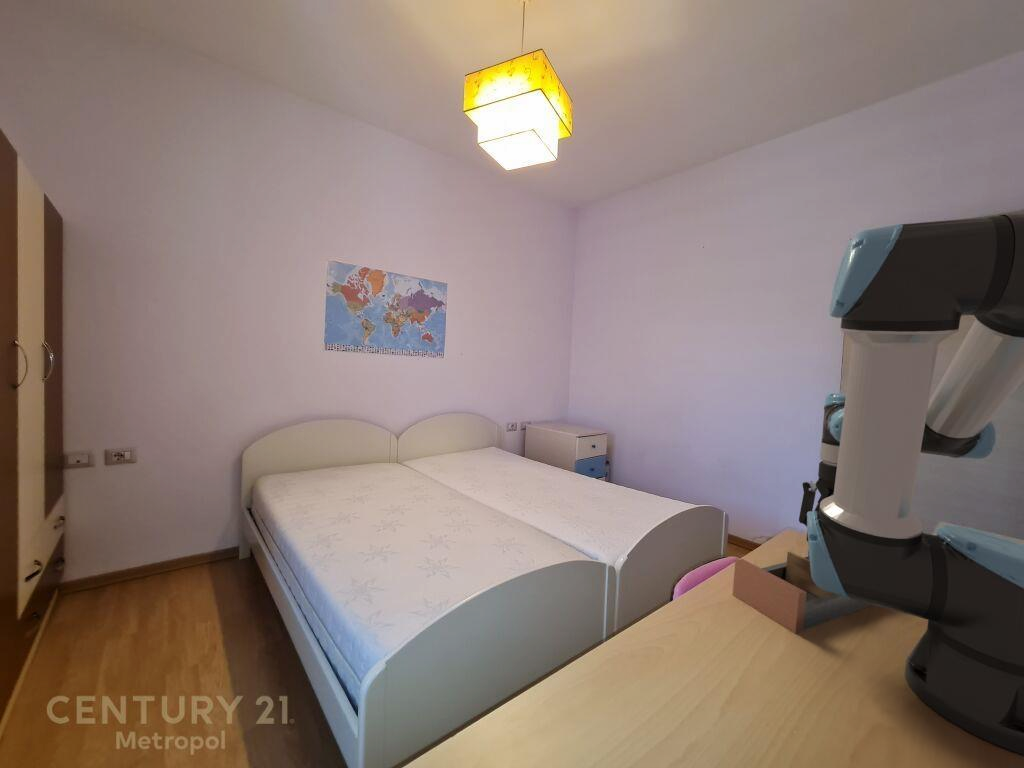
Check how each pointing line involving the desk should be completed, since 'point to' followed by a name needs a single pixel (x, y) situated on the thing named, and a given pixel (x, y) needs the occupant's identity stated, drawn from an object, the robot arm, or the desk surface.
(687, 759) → the desk surface
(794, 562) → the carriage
